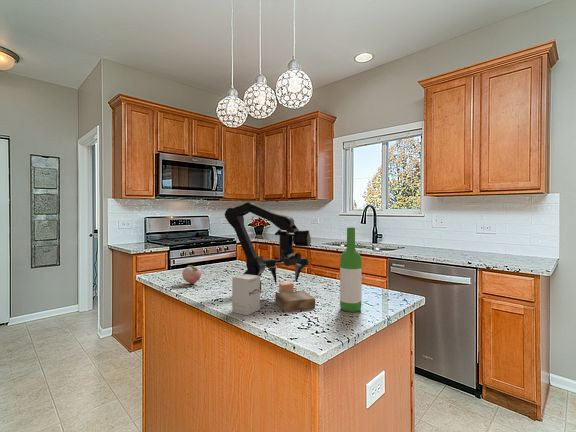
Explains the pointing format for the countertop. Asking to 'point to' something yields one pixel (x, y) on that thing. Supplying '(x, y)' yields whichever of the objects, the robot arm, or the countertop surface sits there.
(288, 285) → the terracotta cube
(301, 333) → the countertop surface
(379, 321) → the countertop surface
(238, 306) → the supplement box
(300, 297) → the walnut block
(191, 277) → the decorative fruit
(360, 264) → the wine bottle
